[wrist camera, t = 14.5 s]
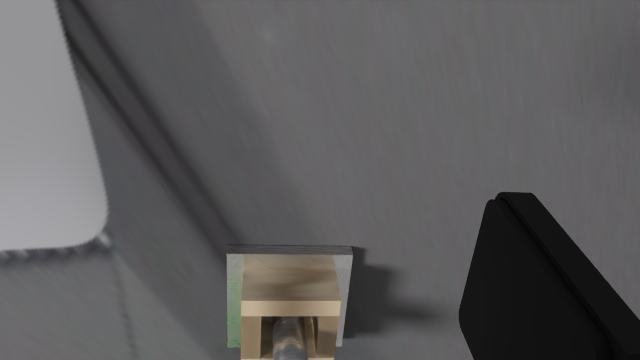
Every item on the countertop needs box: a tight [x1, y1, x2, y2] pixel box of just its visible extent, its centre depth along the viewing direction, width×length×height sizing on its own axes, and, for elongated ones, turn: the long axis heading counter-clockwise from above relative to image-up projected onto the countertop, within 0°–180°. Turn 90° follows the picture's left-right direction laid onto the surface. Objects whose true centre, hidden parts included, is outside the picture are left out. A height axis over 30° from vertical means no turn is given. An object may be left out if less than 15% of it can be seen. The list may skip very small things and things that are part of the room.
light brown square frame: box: [241, 267, 341, 360], centre depth 44 cm, size 7×7×4 cm
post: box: [227, 245, 353, 360], centre depth 42 cm, size 10×10×12 cm
